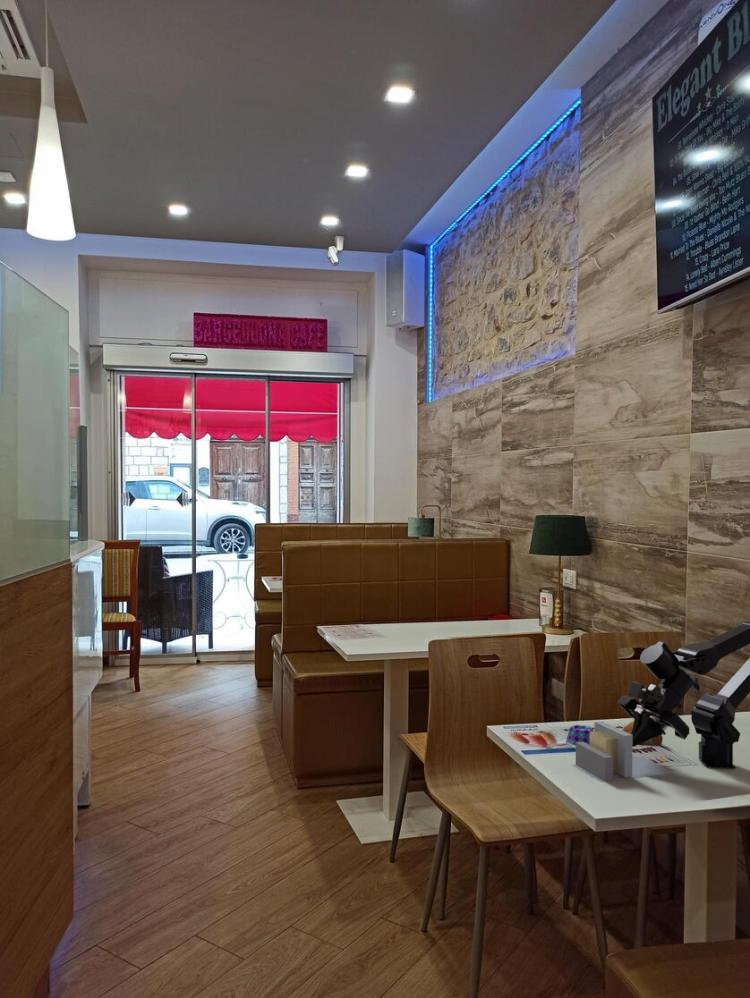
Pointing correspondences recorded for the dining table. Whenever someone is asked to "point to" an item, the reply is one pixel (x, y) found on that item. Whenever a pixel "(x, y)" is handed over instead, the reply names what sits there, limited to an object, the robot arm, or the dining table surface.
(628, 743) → the sliding jaw
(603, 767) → the plate
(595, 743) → the brass block
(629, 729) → the bread roll
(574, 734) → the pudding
